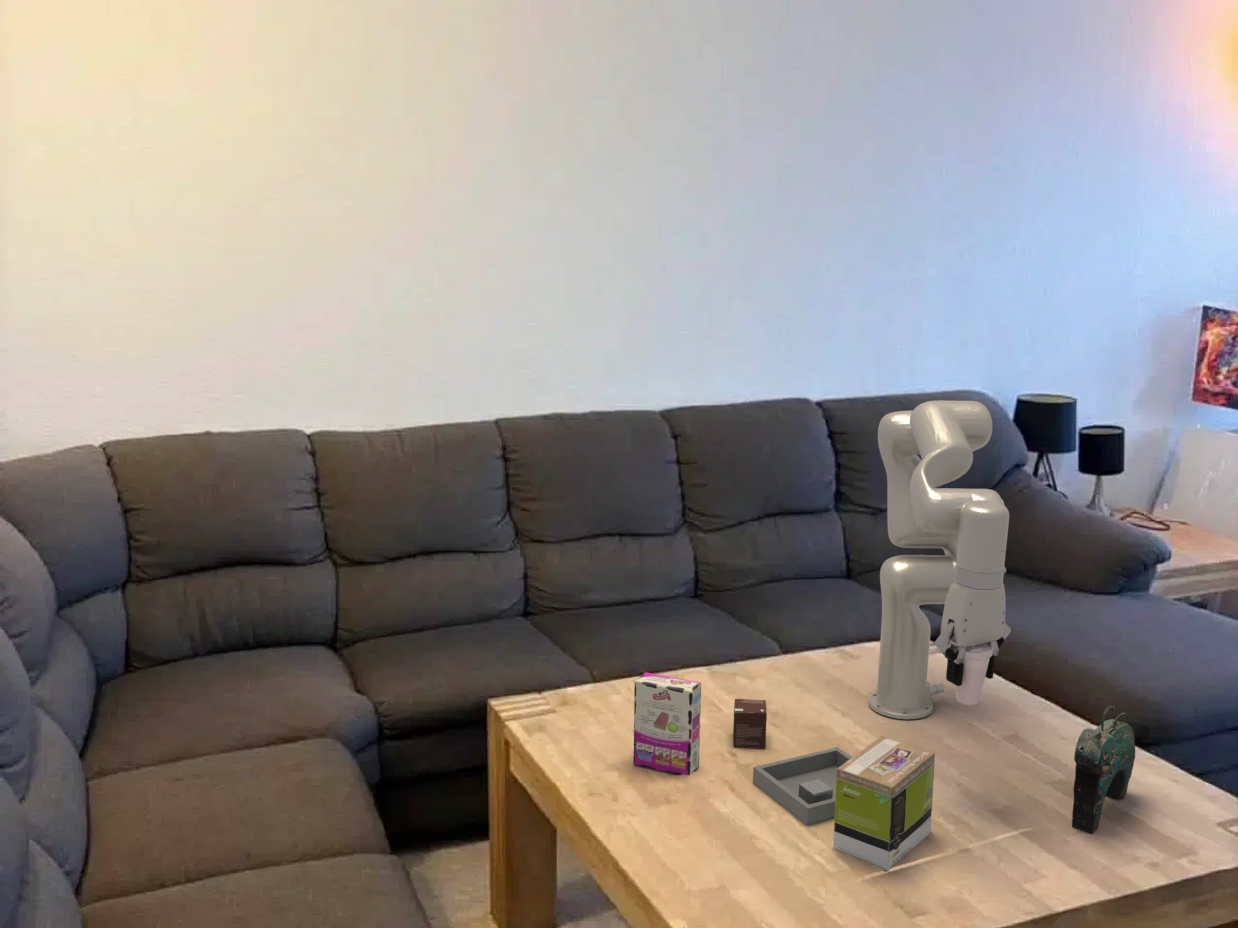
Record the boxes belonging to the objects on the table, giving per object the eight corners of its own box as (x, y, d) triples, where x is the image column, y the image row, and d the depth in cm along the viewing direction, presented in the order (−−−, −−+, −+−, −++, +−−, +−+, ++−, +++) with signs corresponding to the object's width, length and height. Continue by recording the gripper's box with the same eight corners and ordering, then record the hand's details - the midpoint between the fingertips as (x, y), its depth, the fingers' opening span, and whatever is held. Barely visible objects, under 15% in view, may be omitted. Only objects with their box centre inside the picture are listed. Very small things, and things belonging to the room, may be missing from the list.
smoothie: (943, 702, 206) (951, 623, 203) (952, 688, 212) (960, 611, 208) (982, 711, 203) (991, 631, 200) (991, 697, 209) (999, 619, 205)
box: (765, 735, 237) (766, 699, 235) (765, 749, 231) (767, 713, 229) (732, 733, 237) (734, 697, 236) (732, 747, 231) (734, 711, 230)
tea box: (876, 815, 208) (881, 733, 205) (931, 835, 202) (938, 751, 198) (830, 851, 197) (835, 765, 193) (888, 874, 190) (894, 786, 187)
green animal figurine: (1094, 841, 201) (1108, 726, 196) (1055, 827, 205) (1067, 714, 200) (1137, 796, 216) (1150, 688, 211) (1100, 784, 220) (1112, 678, 215)
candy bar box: (700, 766, 224) (703, 681, 220) (689, 778, 219) (692, 691, 216) (643, 753, 228) (645, 670, 225) (631, 765, 224) (633, 680, 220)
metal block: (817, 800, 211) (818, 778, 210) (831, 810, 208) (833, 789, 207) (797, 805, 209) (799, 783, 209) (812, 816, 206) (813, 794, 205)
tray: (836, 765, 225) (837, 746, 224) (893, 804, 211) (895, 785, 210) (752, 785, 217) (753, 766, 216) (806, 828, 203) (807, 808, 202)
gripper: (1002, 562, 209) (992, 662, 214) (922, 576, 202) (913, 679, 206) (1035, 576, 203) (1024, 678, 207) (954, 591, 195) (944, 697, 200)
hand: (969, 678), depth 207 cm, fingers closed on smoothie, 6 cm apart
